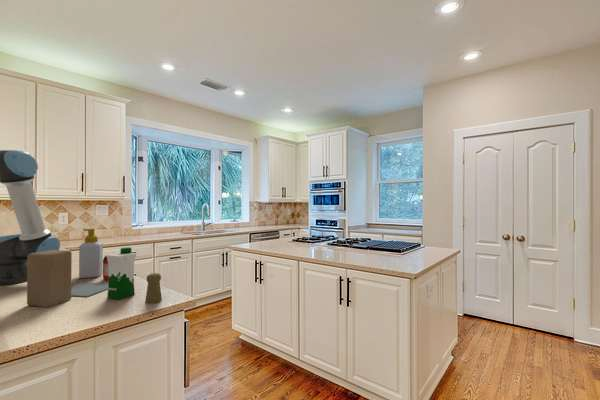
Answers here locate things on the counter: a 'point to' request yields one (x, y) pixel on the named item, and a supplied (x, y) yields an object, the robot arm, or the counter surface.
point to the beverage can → (105, 268)
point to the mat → (88, 289)
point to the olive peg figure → (153, 289)
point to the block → (48, 277)
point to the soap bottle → (90, 256)
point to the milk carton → (121, 274)
